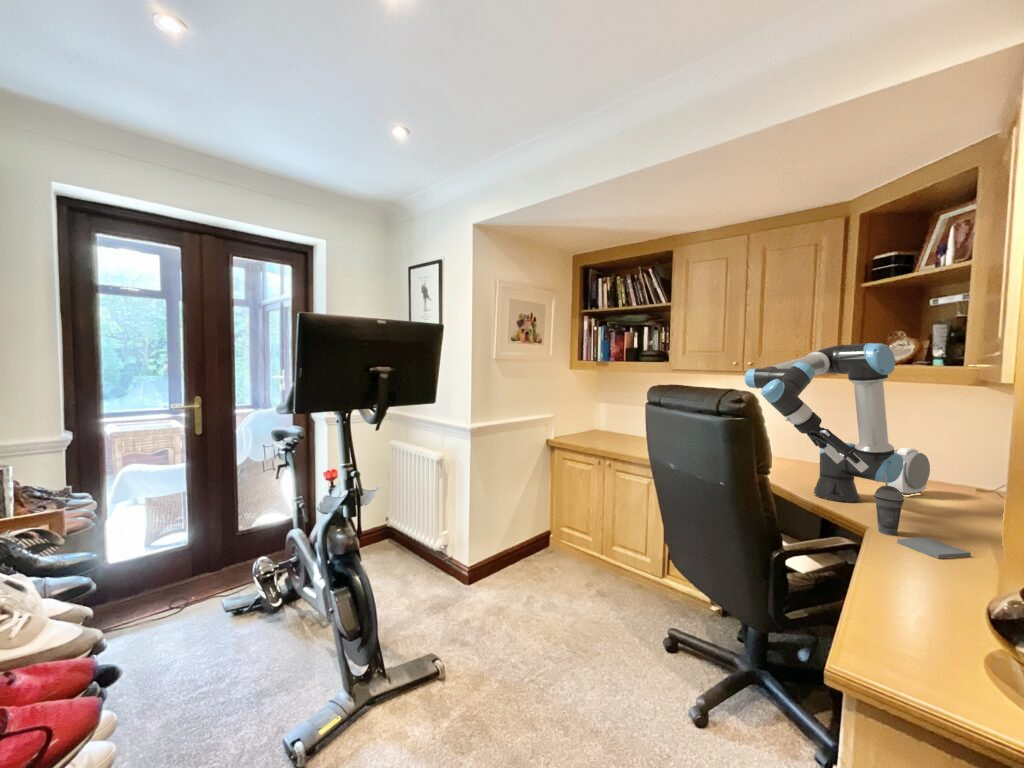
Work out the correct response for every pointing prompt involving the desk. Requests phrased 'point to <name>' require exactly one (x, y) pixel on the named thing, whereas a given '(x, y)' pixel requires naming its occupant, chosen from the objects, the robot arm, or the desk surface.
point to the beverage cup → (888, 508)
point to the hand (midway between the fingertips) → (851, 465)
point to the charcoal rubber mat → (933, 547)
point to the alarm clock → (912, 472)
